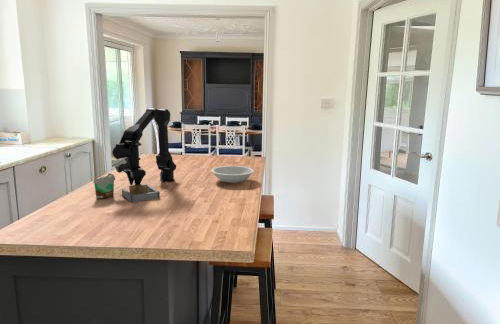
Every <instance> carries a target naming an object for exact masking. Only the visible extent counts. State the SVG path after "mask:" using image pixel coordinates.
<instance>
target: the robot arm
mask: <svg viewBox="0 0 500 324" xmlns="http://www.w3.org/2000/svg"><path fill="white" fill-rule="evenodd" d="M153 119H154V122H155V124H156V125H157V133H158V149H159V152H158V154H157V155H155V163H156V165H157V168H158V170H159V171H160V172H159V177H160V179H159V180H160V181H162V182H164V183H167V182H174V181H176V179H175V175H174V174H175V173H174V171H175V170H176V169H177V165H176V163H175V162H174V161H173V155H172V154H171V153H170V150H169V134H168V133H169V132H168V131H169V130H168V125H169V123H170V121H171V111H170V110H169V109H167V108H155V107H154V108H152V107H151V108H150V107H149V108H146V109H145V112H144V113H143V114H142V115H141V117H140V118H138V120H137V121H136V123H135V124H133V125H132V126H129V127H128V128H126V129H125V130H124V131H123V134H122V137H121V138H120V141H119V143H115V147H114V148H113V149H112V156H113V157H114V158H115V159H116V160H120V159H124V160H123V161H121V162H118V163H116V164H115V165H114V168H115V170H116V172H117V173H119V174H120V173H122V172H123V173H124V174H126V176H127V178H128V180H127V181H128V183H129V186H131V185H139V184H142V181H143V179H144V177H145V176H146V175H147V173H146V170H145V169H143V168H141V165H140V161H141V157H140V154H139V153H140V151H139V150H140V149H139V146H142V143H141V142H140V141H141V138H142V137H143V132H144V131H145V129H146V128H147V127H148V125H149V124H150V123H151V122H152V120H153Z"/></svg>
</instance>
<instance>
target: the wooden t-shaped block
mask: <svg viewBox="0 0 500 324" xmlns="http://www.w3.org/2000/svg"><path fill="white" fill-rule="evenodd" d="M128 187H129V190H128V192H129V193H131V194H132V195H136V194H143V193H149V192H148V184H147V183H140V184H139V185H135V184H133V185H129V186H128Z"/></svg>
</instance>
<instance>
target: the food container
mask: <svg viewBox="0 0 500 324" xmlns="http://www.w3.org/2000/svg"><path fill="white" fill-rule="evenodd" d="M115 181H116V176H115V175H114V174H113V173H111V172H110V173H107V175H105V176H101V177H99V178H93V184H94V190H95V191H94V192H95V198H96V200H108V199H112V198H113V197H114V196H115V195H114V191H115V190H114V189H115V188H114V187H115Z"/></svg>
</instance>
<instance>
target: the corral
mask: <svg viewBox="0 0 500 324" xmlns="http://www.w3.org/2000/svg"><path fill="white" fill-rule="evenodd" d="M147 185H148V184H147ZM121 195H122V197H124V198H125V199H126V200H127V201H128V202H129V203H136V202H142V201H149V200H154V199H155V200H156V199H160V198H161V195H160V191H159V190H158V189H156V188H154V187H153V186H151V185H148V193H143V194H136V195H132V194H131V193H130V191H129V190H127V189H125V188H121Z"/></svg>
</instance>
